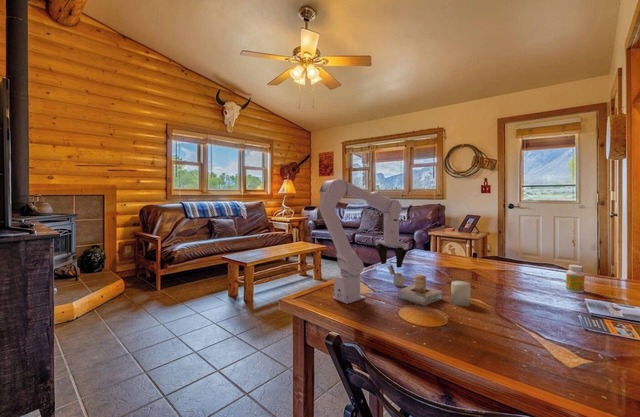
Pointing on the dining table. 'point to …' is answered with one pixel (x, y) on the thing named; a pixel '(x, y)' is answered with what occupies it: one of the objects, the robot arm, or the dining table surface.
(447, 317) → the dining table surface
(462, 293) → the pale green rounded block
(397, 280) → the lighter
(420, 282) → the oak peg
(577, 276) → the supplement bottle
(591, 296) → the dining table surface
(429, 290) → the beige square frame
